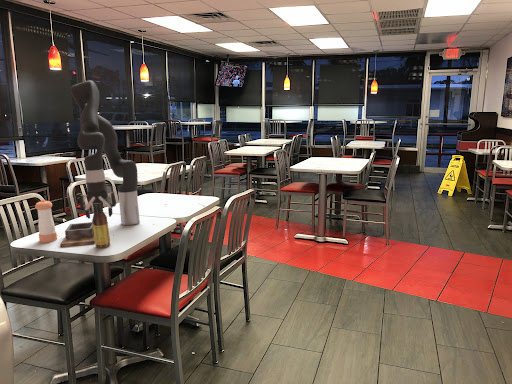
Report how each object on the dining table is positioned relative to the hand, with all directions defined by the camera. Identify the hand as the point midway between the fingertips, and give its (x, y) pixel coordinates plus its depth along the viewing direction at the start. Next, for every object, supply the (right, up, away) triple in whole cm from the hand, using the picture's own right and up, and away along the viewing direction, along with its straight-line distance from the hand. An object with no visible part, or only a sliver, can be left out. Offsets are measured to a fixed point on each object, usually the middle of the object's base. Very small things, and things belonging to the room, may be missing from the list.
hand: (99, 217), depth 175 cm
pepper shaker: (-29, -12, +14) cm, 34 cm away
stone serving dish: (-14, -11, +14) cm, 23 cm away
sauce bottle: (0, -13, +3) cm, 13 cm away
